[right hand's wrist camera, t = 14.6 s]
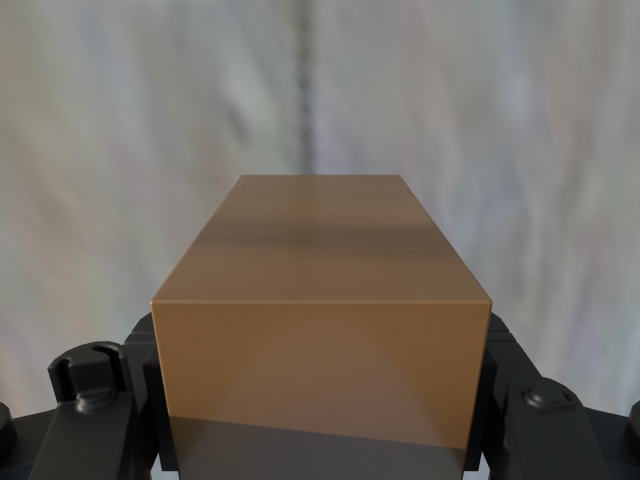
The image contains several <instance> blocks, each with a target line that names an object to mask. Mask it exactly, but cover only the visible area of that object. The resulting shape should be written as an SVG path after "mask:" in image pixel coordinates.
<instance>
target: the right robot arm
mask: <svg viewBox="0 0 640 480" xmlns="http://www.w3.org/2000/svg"><path fill="white" fill-rule="evenodd" d="M47 369H48V372H49V376H50V379H51V383H52V386H53V389H54V393H55V396H56V400H57V403H58V406H57V408H56V409H53V410H49V411H46V412H41V413H37V414H32V415H28V416H23V417H19V418H14V419H12V416H11V413H10V410H9V408H8V407H7V406H6V405H4V404H3V403H1V402H0V480H152V477H151V472H150V471H151V469H152V467H153V464H154V462H155V459H156V457H157V455H158V452H159V457H160V463H161V468H162V471H178V468H177V462H176V456H175V450H174V444H173V438H172V432H171V426H170V420H169V414H168V408H167V402H166V396H165V390H164V384H163V378H162V372H161V366H160V360H159V354H158V348H157V342H156V336H155V330H154V324H153V318H152V312H150V313H149V314H147V315H146V316H144V317H143V318H142V319H140V320H139V322H138V323H137V325H136V326H135V327H134V329H133V330H132V332H131V334H130V335H129V336H128V337H127V339H126V340H125V342H124V345H122V346H121V345H120V344H118V343H114V342H110V341H102V342H92V343H88V344H84V345H80V346H78V347H75V348H73V349H71V350H68V351H66V352H65V353H63V354H62V355H60V356H59V357H57V358H56V359H55V360H54V361H53V362H52V363H51V365H50V366H49V367H48V368H47ZM482 452H483V454H484V457H485V459H486V461H487V464H488V466H489V468H490V472H489V477H488V480H640V401H638V402H637V403H636V404H634V405H633V406H632V409H631V411H630V414H629V417H625V416H621V415H616V414H612V413H607V412H603V411H598V410H594V409H590V408H587V407H583V405H582V403H581V402H580V400H579V399H578V397H577V396H576V394H574V393H573V392H572V391H571V390H569V389H568V388H567V387H566V386H564V385H562V384H560V383H558V382H556V381H554V380H552V379H549V378H545V377H542V376H541V374H540V373H539V372H538V370H537V369H536V367H535V366H534V365H533V363H532V362H531V360H530V359H529V358H528V356H527V355H526V353H525V352H524V351H523V349H522V348H521V346H520V345H519V344H518V343H516V339H515V338H514V336H513V335H512V334H511V333H509V329H508V328H507V327H506V325H505V324H504V322H503V321H502V320H501V318H499V317H498V316H497V315H495V314H494V313H492V312H491V315H490V321H489V327H488V333H487V339H486V345H485V350H484V356H483V362H482V368H481V374H480V380H479V385H478V391H477V397H476V403H475V409H474V415H473V421H472V426H471V432H470V438H469V444H468V450H467V456H466V462H465V467H464V471H478V470H479V464H480V459H481V454H482Z"/></svg>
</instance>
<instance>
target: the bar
mask: <svg viewBox="0 0 640 480" xmlns="http://www.w3.org/2000/svg"><path fill="white" fill-rule="evenodd" d="M150 306H151V312H152V318H153V324H154V330H155V336H156V342H157V348H158V354H159V360H160V366H161V372H162V378H163V384H164V390H165V396H166V402H167V408H168V414H169V420H170V426H171V432H172V438H173V444H174V450H175V456H176V462H177V468H178V474H179V480H462V479H463V473H464V467H465V462H466V456H467V450H468V444H469V438H470V432H471V426H472V421H473V415H474V409H475V403H476V397H477V391H478V385H479V380H480V374H481V368H482V362H483V356H484V350H485V345H486V339H487V333H488V327H489V321H490V315H491V309H492V300H491V299H490V297H489V296H488V295H487V293H486V292H485V291H484V289H483V288H482V286H481V285H480V284H479V282H478V281H477V280H476V278H475V277H474V276H473V274H472V273H471V272H470V270H469V269H468V267H467V266H466V265H465V263H464V262H463V261H462V259H461V258H460V257H459V255H458V254H457V252H456V251H455V250H454V248H453V247H452V246H451V244H450V243H449V242H448V240H447V239H446V238H445V236H444V235H443V233H442V232H441V231H440V229H439V228H438V227H437V225H436V224H435V223H434V221H433V220H432V218H431V217H430V216H429V214H428V213H427V212H426V210H425V209H424V208H423V206H422V205H421V204H420V202H419V201H418V199H417V198H416V197H415V195H414V194H413V193H412V191H411V190H410V189H409V187H408V186H407V185H406V183H405V182H404V180H403V179H402V178H401V176H400V175H241V176H240V178H239V179H238V180H237V182H236V183H235V185H234V186H233V187H232V189H231V190H230V192H229V193H228V194H227V196H226V197H225V198H224V200H223V201H222V203H221V204H220V205H219V207H218V208H217V209H216V211H215V212H214V214H213V215H212V216H211V218H210V219H209V221H208V222H207V223H206V225H205V226H204V227H203V229H202V230H201V232H200V233H199V234H198V236H197V237H196V238H195V240H194V241H193V243H192V244H191V245H190V247H189V248H188V250H187V251H186V252H185V254H184V255H183V256H182V258H181V259H180V261H179V262H178V263H177V265H176V266H175V268H174V269H173V270H172V272H171V273H170V274H169V276H168V277H167V279H166V280H165V281H164V283H163V284H162V285H161V287H160V288H159V290H158V291H157V292H156V294H155V295H154V297H153V298H152V299H151V301H150Z"/></svg>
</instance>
